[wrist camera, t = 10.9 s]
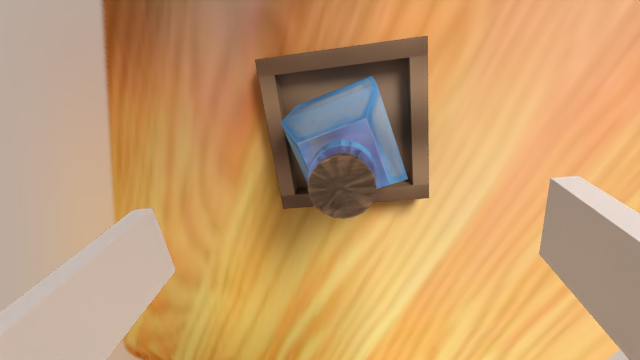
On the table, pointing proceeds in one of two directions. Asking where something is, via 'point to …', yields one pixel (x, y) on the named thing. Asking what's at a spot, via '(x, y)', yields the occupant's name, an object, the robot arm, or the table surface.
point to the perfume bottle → (345, 148)
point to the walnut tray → (341, 70)
